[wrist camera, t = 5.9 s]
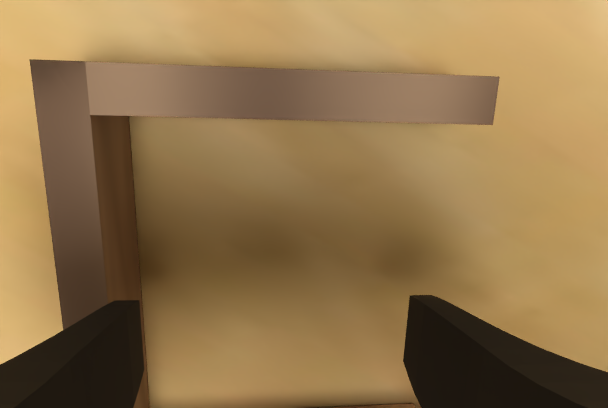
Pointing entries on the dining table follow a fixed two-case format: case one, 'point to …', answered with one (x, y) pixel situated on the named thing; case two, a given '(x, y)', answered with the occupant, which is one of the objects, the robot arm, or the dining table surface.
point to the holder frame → (199, 104)
